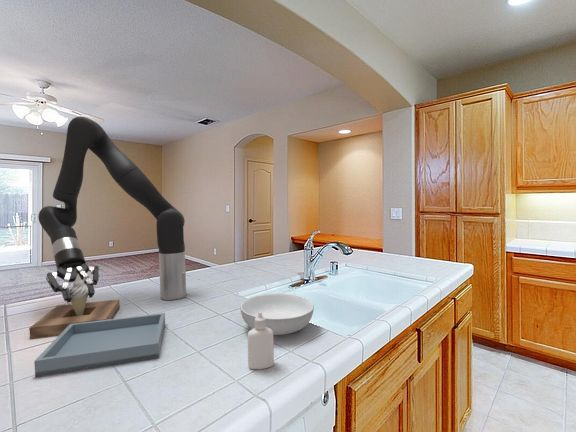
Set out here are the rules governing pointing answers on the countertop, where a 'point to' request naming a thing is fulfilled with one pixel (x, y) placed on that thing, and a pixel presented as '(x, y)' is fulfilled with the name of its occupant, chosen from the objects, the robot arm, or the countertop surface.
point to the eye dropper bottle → (260, 345)
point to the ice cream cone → (79, 296)
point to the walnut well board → (72, 317)
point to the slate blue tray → (103, 344)
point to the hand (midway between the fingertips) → (80, 298)
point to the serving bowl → (278, 312)
